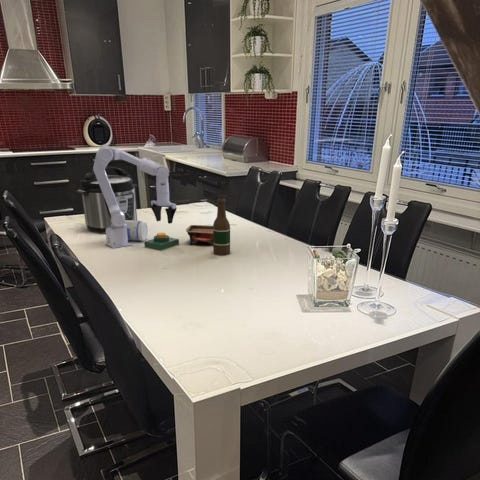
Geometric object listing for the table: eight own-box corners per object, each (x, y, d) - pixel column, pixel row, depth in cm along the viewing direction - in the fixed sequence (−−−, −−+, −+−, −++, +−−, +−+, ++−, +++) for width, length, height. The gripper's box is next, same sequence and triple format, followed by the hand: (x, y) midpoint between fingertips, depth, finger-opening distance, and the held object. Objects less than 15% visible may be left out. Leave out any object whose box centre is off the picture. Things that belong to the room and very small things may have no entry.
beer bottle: (228, 255, 206) (228, 200, 196) (211, 254, 207) (210, 199, 197) (231, 251, 213) (232, 197, 203) (215, 250, 214) (214, 196, 204)
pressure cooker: (80, 236, 234) (72, 170, 221) (85, 224, 259) (77, 164, 246) (141, 233, 241) (136, 169, 227) (140, 222, 266) (135, 163, 253)
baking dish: (217, 251, 219) (220, 231, 215) (181, 243, 221) (183, 222, 217) (223, 246, 232) (227, 226, 228) (189, 238, 234) (192, 218, 230)
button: (161, 238, 216) (161, 235, 215) (155, 237, 217) (155, 233, 217) (167, 237, 219) (167, 233, 218) (161, 235, 221) (160, 232, 220)
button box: (160, 250, 212) (160, 241, 210) (144, 247, 217) (143, 237, 215) (179, 244, 222) (178, 235, 220) (163, 241, 227) (162, 232, 225)
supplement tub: (142, 243, 224) (113, 242, 226) (149, 238, 232) (121, 237, 235) (140, 223, 219) (111, 222, 222) (147, 218, 228) (119, 217, 231)
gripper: (180, 193, 215) (181, 222, 220) (157, 190, 223) (159, 218, 228) (169, 195, 210) (171, 225, 215) (147, 191, 217) (148, 221, 223)
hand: (164, 222), depth 221 cm, fingers open, 7 cm apart
